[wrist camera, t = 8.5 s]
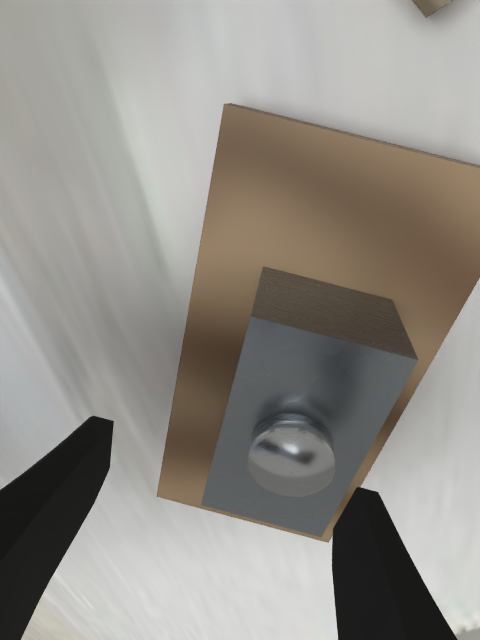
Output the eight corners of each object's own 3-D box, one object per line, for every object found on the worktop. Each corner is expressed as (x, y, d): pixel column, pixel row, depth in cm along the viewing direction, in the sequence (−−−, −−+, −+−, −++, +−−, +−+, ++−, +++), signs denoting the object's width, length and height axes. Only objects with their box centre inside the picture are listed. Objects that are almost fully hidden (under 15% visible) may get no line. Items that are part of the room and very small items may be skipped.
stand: (326, 496, 25) (328, 542, 23) (171, 455, 25) (156, 496, 23) (494, 167, 15) (534, 182, 13) (237, 102, 15) (224, 104, 13)
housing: (318, 459, 20) (322, 562, 15) (219, 433, 20) (194, 528, 15) (392, 299, 15) (427, 381, 11) (263, 266, 15) (246, 334, 11)
